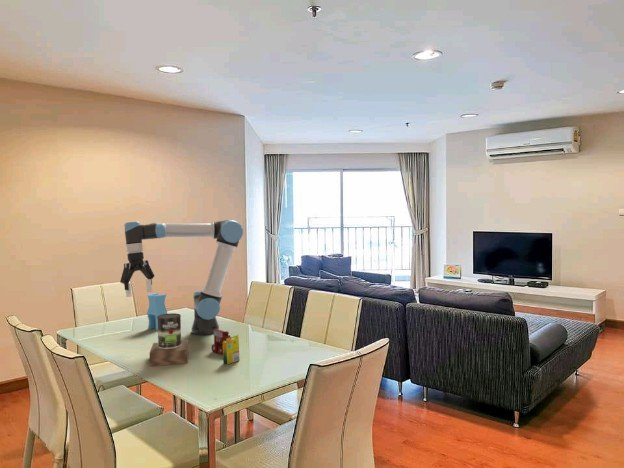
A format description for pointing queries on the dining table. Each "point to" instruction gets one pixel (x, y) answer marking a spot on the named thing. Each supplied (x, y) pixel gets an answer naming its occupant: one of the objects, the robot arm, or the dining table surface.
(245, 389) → the dining table surface
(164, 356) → the walnut block
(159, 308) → the vase
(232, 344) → the crayon box
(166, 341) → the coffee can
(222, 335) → the toy fire truck
